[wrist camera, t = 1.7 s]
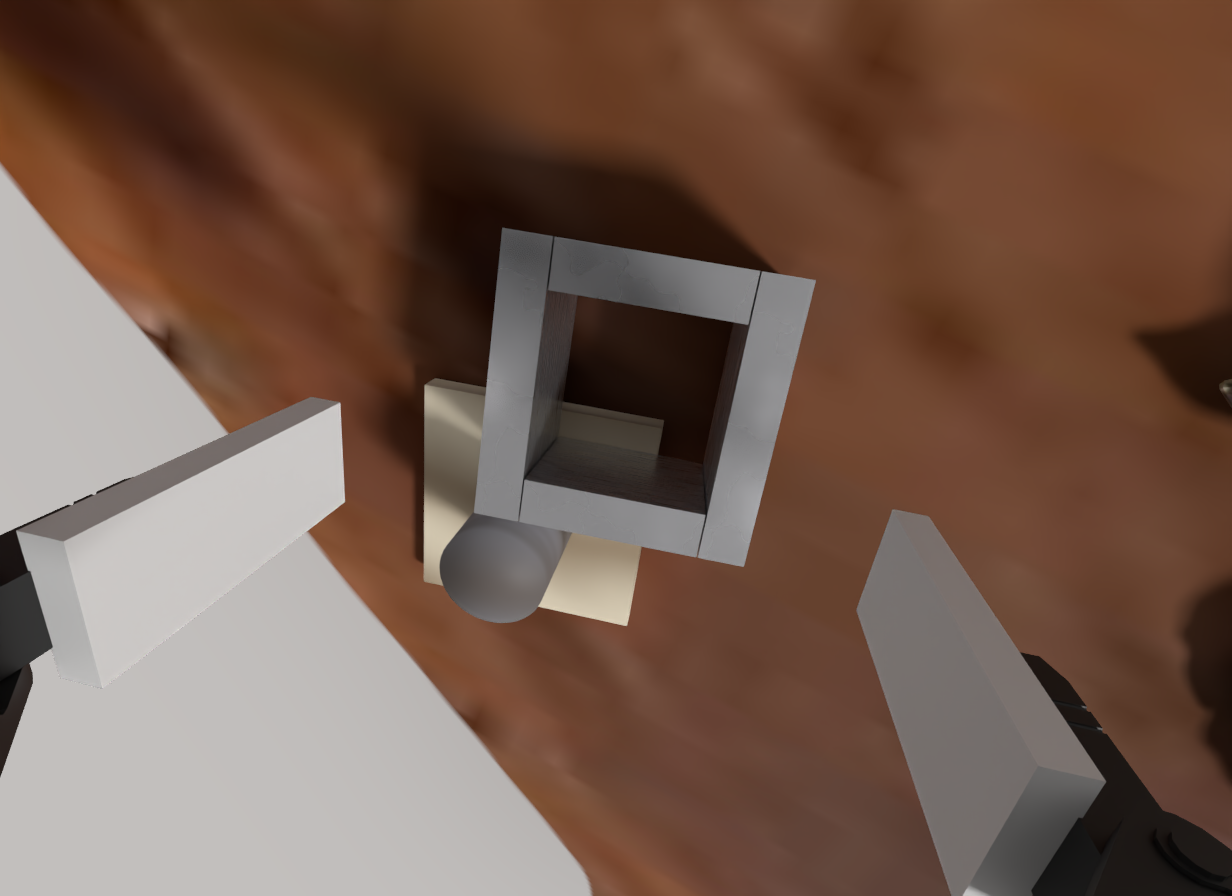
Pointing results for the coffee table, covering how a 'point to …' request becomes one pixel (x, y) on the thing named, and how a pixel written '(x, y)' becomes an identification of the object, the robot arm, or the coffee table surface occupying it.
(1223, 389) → the ceramic sculpture
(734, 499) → the grey hollow square block
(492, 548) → the cream square tile
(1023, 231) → the coffee table surface
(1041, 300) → the coffee table surface
